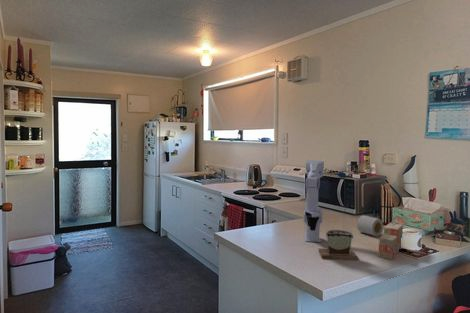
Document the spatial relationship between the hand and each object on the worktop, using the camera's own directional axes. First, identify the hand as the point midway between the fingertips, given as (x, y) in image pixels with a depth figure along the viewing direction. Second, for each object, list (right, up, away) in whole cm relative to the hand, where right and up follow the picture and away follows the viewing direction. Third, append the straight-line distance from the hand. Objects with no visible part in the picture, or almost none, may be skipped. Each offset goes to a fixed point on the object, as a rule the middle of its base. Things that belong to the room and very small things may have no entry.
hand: (311, 228), depth 167 cm
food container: (+10, -10, -8) cm, 17 cm away
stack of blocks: (+38, -11, -3) cm, 40 cm away
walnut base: (+10, -11, -9) cm, 17 cm away
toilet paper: (+40, -10, +28) cm, 50 cm away
